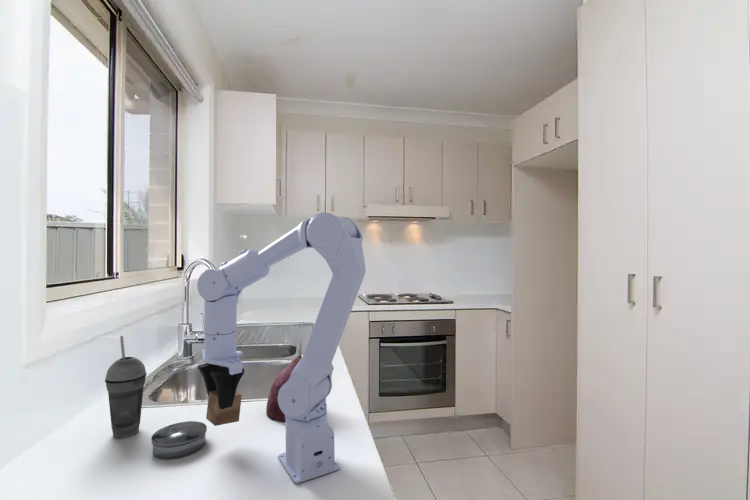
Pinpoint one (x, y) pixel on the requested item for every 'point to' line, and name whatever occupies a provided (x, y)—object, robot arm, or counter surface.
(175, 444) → the grey tin
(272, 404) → the vegetable
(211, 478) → the counter surface
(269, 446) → the counter surface
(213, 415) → the walnut block
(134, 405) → the beverage cup
